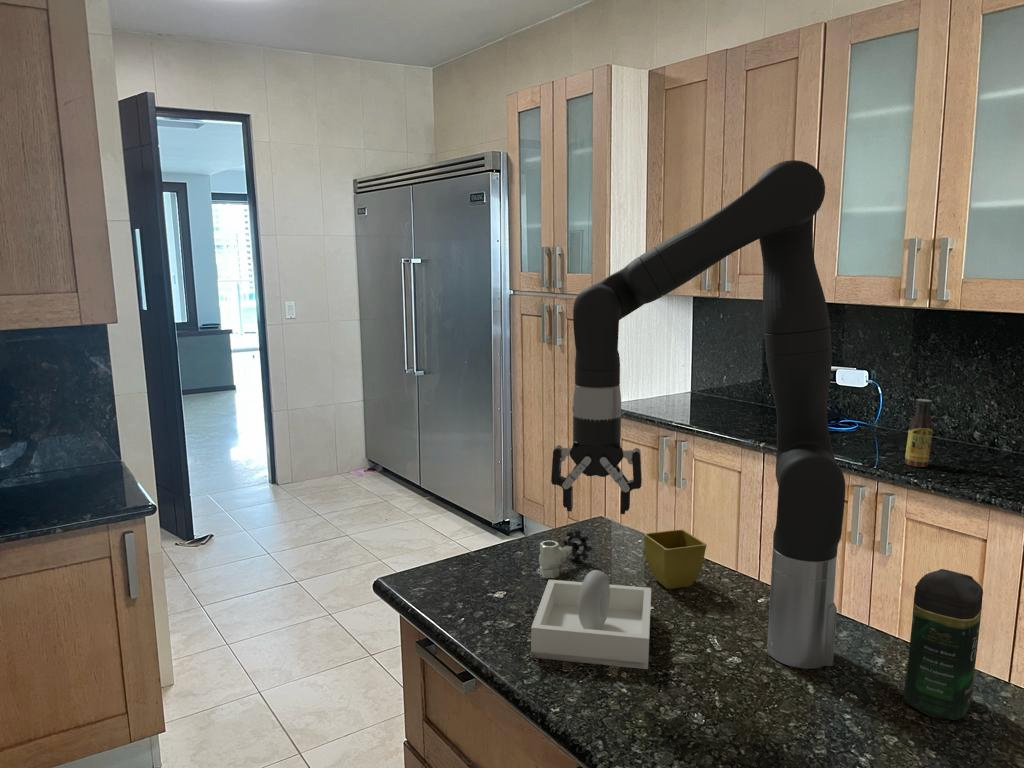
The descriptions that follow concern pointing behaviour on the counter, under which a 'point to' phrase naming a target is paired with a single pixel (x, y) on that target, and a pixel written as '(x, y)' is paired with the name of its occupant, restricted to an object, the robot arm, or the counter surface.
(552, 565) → the valve
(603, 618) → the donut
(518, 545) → the counter surface
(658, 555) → the flower pot
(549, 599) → the tray
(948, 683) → the coffee jar
